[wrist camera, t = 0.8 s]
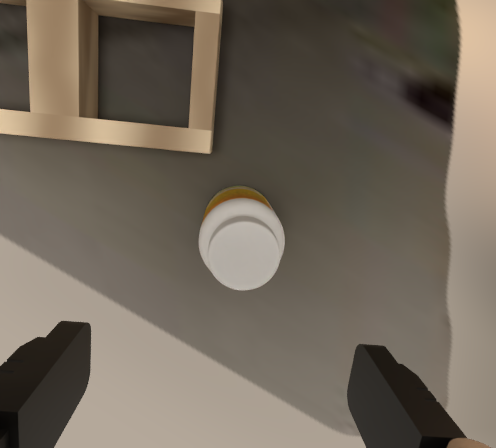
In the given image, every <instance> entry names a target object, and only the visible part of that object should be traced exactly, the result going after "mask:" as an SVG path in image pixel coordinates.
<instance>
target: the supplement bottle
mask: <svg viewBox="0 0 496 448" xmlns="http://www.w3.org/2000/svg"><path fill="white" fill-rule="evenodd" d="M284 246H285V236H284V231H283V227H282V225H281V222H280V220H279V219H278V217H277V215H276V214H275V212H274V211H273V209H272V207H271V206H270V204H269V202H268V201H267V200H266V198H265V197H264V196H263V195H262V194H261V193H259V192H258V191H256V190H255V189H253V188H250V187H247V186H231V187H228V188H225V189H223V190H221V191H219V192H218V193H217V194H216V195H215V196H214V197H213V198H212V199H211V200H210V202H209V204H208V206H207V208H206V211H205V215H204V218H203V222H202V225H201V228H200V233H199V250H200V254H201V257H202V259H203V261H204V263H205V264H206V266H207V267H208V268H209V270H210V271H211V272H212V274H213V275H214V276H215V278H216V279H217V280H218V281H219V282H220V283H222V284H223V285H225V286H227V287H229V288H232V289H235V290H251V289H255V288H258V287H260V286H262V285H264V284H265V283H266V282H268V281H269V280H270V279H271V278H272V277H273V275H274V274H275V272H276V270H277V268H278V266H279V262H280V259H281V257H282V254H283V251H284Z"/></svg>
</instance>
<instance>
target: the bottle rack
mask: <svg viewBox="0 0 496 448" xmlns="http://www.w3.org/2000/svg"><path fill="white" fill-rule="evenodd" d="M0 3H3V4H11V5H19V6H27V32H28V60H29V88H30V112H24V111H14V110H5V109H0V133H3V134H13V135H23V136H33V137H44V138H54V139H64V140H74V141H85V142H95V143H105V144H115V145H126V146H136V147H146V148H156V149H166V150H177V151H187V152H197V153H207V154H210V153H211V152H212V146H213V132H214V119H215V105H216V92H217V79H218V65H219V52H220V39H221V25H222V12H223V0H0ZM98 15H100V16H109V17H117V18H125V19H133V20H141V21H149V22H157V23H165V24H173V25H181V26H190V27H195V29H194V46H193V63H192V80H191V96H190V113H189V128H180V127H171V126H161V125H151V124H141V123H132V122H122V121H112V120H102V119H98Z"/></svg>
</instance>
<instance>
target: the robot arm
mask: <svg viewBox="0 0 496 448" xmlns="http://www.w3.org/2000/svg"><path fill="white" fill-rule="evenodd" d="M90 355H91V326H90V324H89V323H84V322H71V321H61V322H60V323H58V324H57V326H56V327H55V328H54V329H53V330H52V331H51V332H50V333H49V334H48V335H47V337H46V338H44V337H37V338H35V339H33V340H32V341H30V342H28V343H26V344H24V345H22V346H20V347H19V348H18V349H17V350H16V351H15V352H14V353H13V354H12V355H11V356H10V357H9V358H8V359H7V362H4V363H3V364H2V365H1V366H0V448H54V446H55V445H56V443H57V441H58V439H59V437H60V436H61V434H62V432H63V430H64V428H65V427H66V425H67V423H68V421H69V420H70V418H71V416H72V414H73V413H74V411H75V409H76V407H77V405H78V404H79V402H80V400H81V398H82V396H83V395H84V393H85V391H86V388H87V384H88V381H89V376H90V357H91V356H90ZM347 399H348V406H349V409H350V412H351V414H352V416H353V419H354V421H355V423H356V425H357V428H358V430H359V432H360V434H361V437H362V439H363V441H364V443H365V445H366V448H491V447H489V446H487V445H485V444H483V443H481V442H478V441H475V440H472V439H468V438H467V437H466V436H465V435H464V434H463V432H462V431H461V430H460V428H459V427H458V426H457V425H456V423H455V422H454V421H453V420H452V418H451V417H450V416H449V415H448V414H447V412H446V411H445V410H444V408H443V407H442V406H441V405H440V403H439V402H436V398H435V397H434V396H433V394H432V393H431V392H430V391H428V388H427V387H426V386H425V384H424V383H423V382H422V381H421V379H420V378H419V377H418V376H417V375H416V374H415V373H413V372H412V371H411V370H409V369H408V368H407V367H405V366H404V365H403V364H398V363H397V361H396V360H395V359H394V357H393V356H392V355H391V354H390V352H389V351H388V350H387V348H386V347H385V346H379V345H366V344H359V345H358V346H357V347H356V350H355V355H354V359H353V364H352V369H351V374H350V379H349V384H348V390H347Z"/></svg>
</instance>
